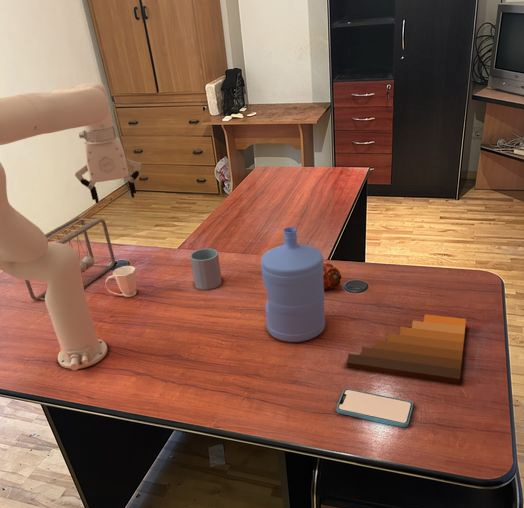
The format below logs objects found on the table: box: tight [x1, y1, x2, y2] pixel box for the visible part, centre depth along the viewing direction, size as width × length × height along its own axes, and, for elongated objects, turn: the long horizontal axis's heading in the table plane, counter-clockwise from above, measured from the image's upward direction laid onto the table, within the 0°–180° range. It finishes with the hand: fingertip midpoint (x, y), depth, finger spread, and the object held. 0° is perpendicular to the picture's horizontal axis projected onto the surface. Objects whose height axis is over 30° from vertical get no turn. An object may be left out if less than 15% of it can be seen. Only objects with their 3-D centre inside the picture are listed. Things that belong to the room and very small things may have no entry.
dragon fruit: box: [323, 262, 342, 290], centre depth 162 cm, size 8×8×12 cm
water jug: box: [260, 226, 326, 343], centre depth 139 cm, size 16×16×28 cm
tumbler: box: [189, 248, 223, 291], centre depth 169 cm, size 9×9×10 cm
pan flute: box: [346, 314, 467, 385], centre depth 133 cm, size 25×3×25 cm
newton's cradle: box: [24, 216, 116, 301], centre depth 175 cm, size 30×10×18 cm, turn 156°
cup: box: [105, 265, 138, 298], centre depth 168 cm, size 7×10×8 cm
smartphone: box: [336, 388, 414, 428], centre depth 116 cm, size 8×1×15 cm
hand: (115, 198), depth 149 cm, fingers open, 9 cm apart
